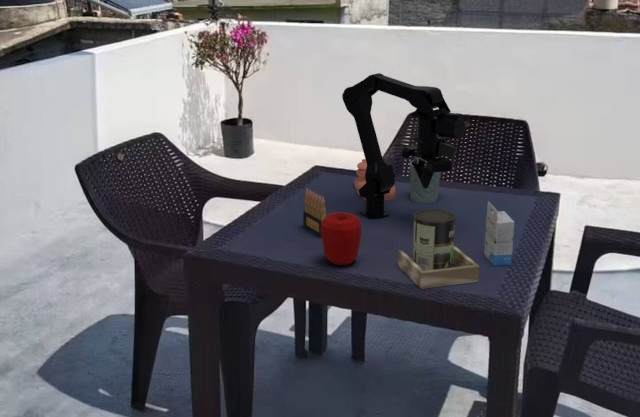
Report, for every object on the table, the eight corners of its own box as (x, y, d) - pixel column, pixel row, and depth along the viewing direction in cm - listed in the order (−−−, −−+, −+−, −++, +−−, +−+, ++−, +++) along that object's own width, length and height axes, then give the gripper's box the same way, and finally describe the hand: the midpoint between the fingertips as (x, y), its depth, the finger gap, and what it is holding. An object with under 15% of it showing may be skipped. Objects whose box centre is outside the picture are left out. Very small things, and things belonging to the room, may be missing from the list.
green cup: (418, 192, 258) (419, 157, 254) (446, 198, 252) (447, 162, 248) (402, 200, 250) (403, 164, 246) (431, 206, 244) (432, 169, 240)
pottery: (395, 199, 252) (396, 170, 249) (367, 202, 249) (368, 172, 246) (373, 184, 268) (374, 156, 265) (347, 186, 265) (347, 158, 262)
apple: (314, 257, 205) (314, 208, 201) (350, 252, 209) (351, 203, 205) (330, 272, 196) (330, 221, 192) (367, 266, 200) (368, 215, 195)
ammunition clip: (327, 237, 220) (327, 196, 216) (321, 238, 219) (321, 197, 215) (308, 226, 228) (308, 186, 224) (303, 227, 227) (302, 187, 224)
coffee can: (453, 261, 203) (455, 209, 198) (452, 277, 193) (455, 223, 188) (412, 259, 204) (414, 207, 200) (410, 274, 195) (412, 221, 190)
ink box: (512, 265, 200) (516, 210, 195) (493, 266, 199) (496, 211, 195) (501, 253, 208) (505, 199, 203) (483, 253, 207) (487, 200, 203)
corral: (397, 265, 200) (398, 250, 199) (452, 258, 204) (452, 244, 203) (421, 289, 187) (421, 273, 185) (478, 281, 191) (479, 266, 189)
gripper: (471, 138, 212) (468, 193, 217) (436, 124, 228) (434, 176, 233) (434, 142, 208) (432, 198, 213) (401, 127, 224) (400, 180, 229)
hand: (425, 188), depth 222 cm, fingers closed
